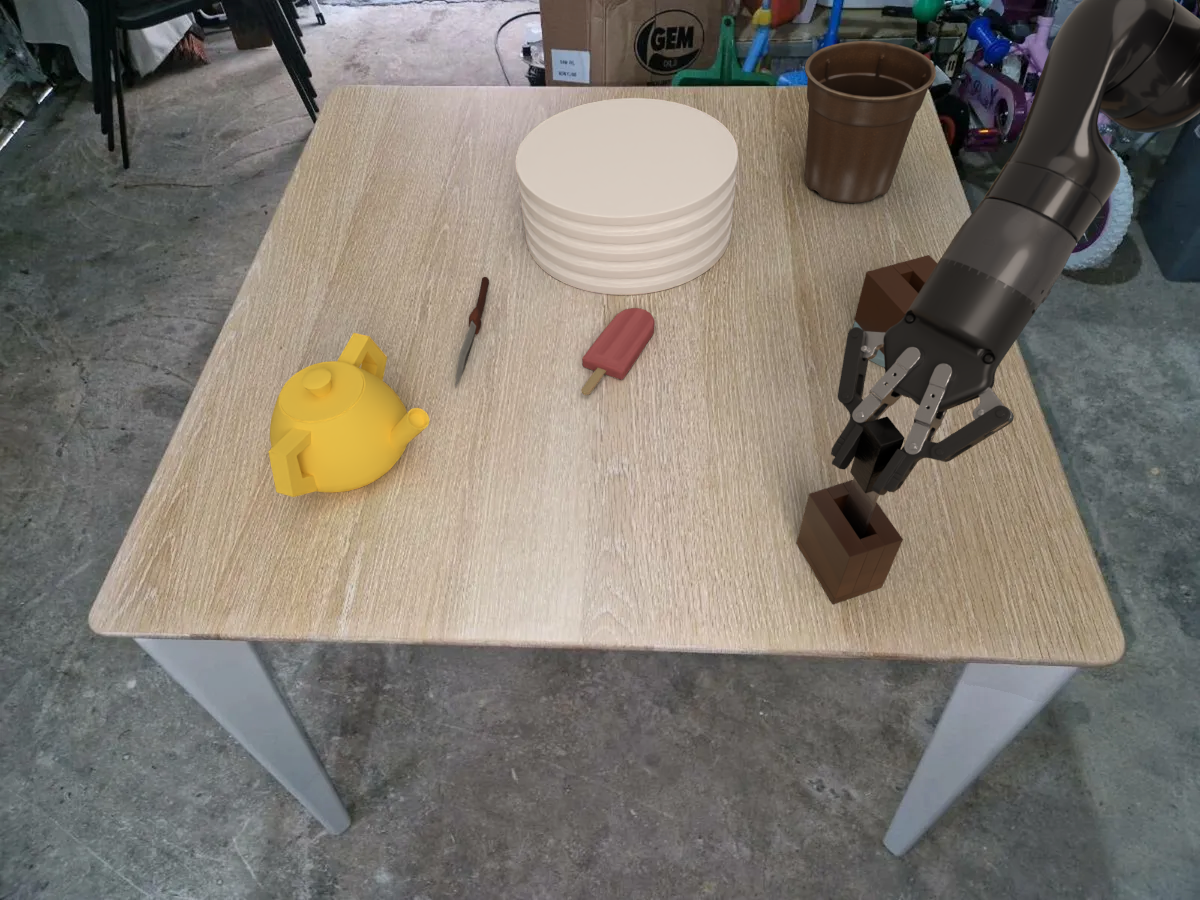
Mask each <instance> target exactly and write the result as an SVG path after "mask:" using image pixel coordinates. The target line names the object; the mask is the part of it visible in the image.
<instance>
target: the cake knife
mask: <svg viewBox="0 0 1200 900" xmlns="http://www.w3.org/2000/svg"><path fill="white" fill-rule="evenodd" d="M904 443H905V437H904V435H903V434H902V433H901V431H900V430H899V429H898V428H897V426H896V425H895V423H893V421H892V420H891V419H890V418H889V417H888V416H884V417H881V418H880V417H879V418H878V419H877V420H874V421H870V422H867V423H865V424H864V427H863V430H862V434H861V437H860V441H859V444H858V447H857V451H856V454H855V457H854V458H853V460H852V463H851V467H850V471H849V472H850V474H851V476H852V477H853V479H852V480H853V482H852V485H851V488H850V491H849V495H848V498H847V501H846V505H845V508H844V511H843V515H844V516H845V518H846V519H847V521H848V522H849V524H850V525H851V527H852V528H853V530H854V531H855V533H856V534H857V536H858V537H859V539H862V538H864V536H865V533H866V530H867V527H868V525H869V522H870V519H871V516H872V513H873V511H874V508H875V505H876V502H877V503H878V499H879V496H880V495H879V494H877V493H875V492H874V491H872V490H871V489H872V486H873V485H874V483H875V482H876V480H877V479H878V477H879V476H880V474H881V473H882V471H883V470H884V468H885V467H886V465H887V464H888V462H889V461H890V459H891V458H892V456H893V455H894V453H895V452H896V450H897V449H902V448H903V444H904Z"/></svg>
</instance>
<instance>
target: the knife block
mask: <svg viewBox="0 0 1200 900" xmlns="http://www.w3.org/2000/svg"><path fill="white" fill-rule="evenodd" d="M852 482H853V479H850V480H847V481H844V482H841V483H837V484H835V485H832V486H828V487H826V488H823V489H819V490H815V491H813V492H809V493H808V496H807V500H806V503H805V507H804V511H803V515H802V520H801V523H800V527H799V531H798V535H797V538H796V542H795V545H796V546H797V547H798V549H799V551H800V552H801V554H802V556H803V557H804V559H805V560H806V562H807V564H808V566H809V567H810V569H811V571H812V572H813V574H814V575H815V577H816V579H817V580H818V582H819V584H820V586H821V587H822V589H823V591H824V592H825V594H826V596H827V597H828V599H829V601H830V602H831V604H832V605H836V604H839V603H841V602H844V601H845V602H846V601H847V600H851V599H853V598H856V597H859V596H861V595H865V594H867V593H871V592H873V591H876V590H879V589H882V588H883V585H884V584H885V581H886V579H887V577H888V574H889V572H890V570H891V568H892V565H893V563H894V562H895V559H896V557H897V555H898V552H899V550H900V548H901V545H902V543H903V540H904V539H903V537H902V535H901V534H900V533H899V531H898V530H897V529H896V527H895V526H894V524H893V523H892V521H891V520H890V519H889V518H888V516H887V514H886V513H885V511H884V510H883V509H882V508H881V505H879V503H878V501H877V502H876V505H875V508H874V511H873V513H872V516H871V519H870V522H869V525H868V527H867V530H866V533H865V536H864V538H862V539H859V537H858V536H857V534H856V533H855V531H854V530H853V528H852V527H851V525H850V524H849V522H848V521H847V519H846V518H845V516H844V515H843V511H844V508H845V505H846V501H847V498H848V495H849V491H850V488H851V485H852Z"/></svg>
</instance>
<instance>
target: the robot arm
mask: <svg viewBox="0 0 1200 900" xmlns="http://www.w3.org/2000/svg"><path fill="white" fill-rule="evenodd" d="M1196 5H1197V10H1198V13H1199V14H1200V0H1196ZM1062 23H1063V24H1062V25H1061V27H1060V29H1059V30H1058V32H1057V33H1056V36H1055V37H1054V39H1053V40H1052V43H1051V47H1050V49H1049V51H1048V53H1047V56H1046V59H1045V62H1044V64H1043V65H1044V66H1043V68H1042V71H1041V73H1040V77H1039V81H1038V84H1037V87H1036V89H1035V93H1034V96H1033V99H1032V103H1031V105H1030V108H1029V111H1028V113H1027V116H1026V119H1025V121H1024V124H1023V126H1022V129H1021V132H1020V135H1019V137H1018V140H1017V143H1016V145H1015V148H1014V150H1013V152H1012V153H1011V155H1010V156H1009V158H1008V160H1007V161H1006V163H1005V164H1004V165H1003V167H1002V168H1001V170H1000V171H999V173H998V175H997V176H996V178H995V179H994V181H993V183H992V184H991V186H990V187H989V189H988V190H987V192H986V194H984V197H983V199H982V200H981V201H980V203H979V204H978V205H977V207H976V208H975V209H974V211H973V212H972V213H971V214H970V215H969V216H968V217H967V219H966V220H965V221H964V223H963V224H962V225H961V227H960V228H959V229H958V231H957V233H956V234H955V235H954V237H953V238H952V240H951V241H950V243H949V244H948V246H947V248H946V249H945V251H944V252H943V254H942V256H941V257H940V259H939V260H938V262H937V263H938V264H937V265H936V267H935V268H934V270H933V271H932V273H931V275H930V276H929V278H928V279H927V281H926V282H925V284H924V286H923V287H922V289H921V290H920V292H919V293H918V295H917V296H916V298H915V300H914V301H913V303H912V304H911V306H910V307H909V309H908V311H907V312H906V314H905V316H904V317H903V318H902V320H901V321H899V322H898V323H897V324H895V325H894V326H892V327H890V328H889V329H888V330H887V332H886V333H884V332H869V331H863V330H862V329H860V328H858V327H854V328H853V327H852V328H850V329H849V330H848V332H847V336H846V342H845V349H844V355H843V361H842V365H841V371H840V378H839V385H838V390H837V400H838V402H840V404H842V405H843V406H844V408H845V409H846V410H847V411H848V414H849V420H848V422H847V424H846V425H845V426H844V429H843V430H842V431H841V433H840V435H839V436H838V437H837V439H836V441H835V443H833V445H832V447H831V451H830V455H831V456H833V457H834V458H833V459H832V462H831V465H832V466H834V467H836V468H837V469H839V470H844V471H845V470H846V469H848V467H849V466H850V464H852V462H853V460H854V457H855V454H856V451H857V447H858V444H859V441H860V437H861V434H862V430H863V427H864V424H865V423H867V422H870V421H874V420H877V419H880V417H881V416H882V415H884V413H885V412H886V411H887V410H888V409H889V408H890V407H892V406H893V405H894V404H896V403H897V401H898V400H899V399H900V398H902V397H905V398H908V399H911V400H912V401H913V402H914V403H915V404H916V405H918V409H917V410H916V413H915V415H914V419H913V424H912V425H911V428H910V431H909V433H908V435H907V437H906V440H905V441H904V443H903V444H904V445H902V447H901V449H897V450H896V452H895V453H894V455H893V456H892V458H891V459H890V461H889V462H888V464H887V465H886V467H885V468H884V470H883V471H882V473H881V474H880V476H879V477H878V479H877V480H876V482H875V483H874V485H873V486H872V489H871V490H872V491H874V492H875V493H877V494H879V496H885V495H886V494H887V493H895V492H897V491H898V490H900V489H901V488H902V486H903V484H904V483H905V481H906V480H907V479H908V477H909V476H910V474H911V473H912V471H913V469H914V468H915V467H916V465H917V464H918V463H919V462H920V461H921V460H923V459H932V460H936V461H939V462H940V461H941V462H944V463H947V462H950V461H953V459H955V458H957V457H959V456H961V454H963V453H965V452H967V451H969V450H970V449H972V448H973V447H975V446H977V445H978V444H980V443H981V442H983V441H984V440H986V439H987V438H989V437H991V436H992V435H994V434H996V433H997V432H999V431H1001V430H1002V429H1004V428H1005V427H1007V426H1008V425H1010V424H1011V423H1012V422H1013V421H1014V418H1015V416H1014V412H1013V411H1012V410H1011V409H1010V408H1009V407H1007V406H1005V404H1004V402H1002V401H1001V399H1000V398H999V397H998V396H997V395H998V394H996V393H995V392H994V389H993V387H994V386H995V379H996V373H997V369H998V368H999V366H1000V364H1001V363H1002V361H1003V360H1004V358H1005V357H1006V355H1007V354H1008V353H1009V351H1010V349H1011V348H1012V347H1013V345H1014V344H1015V342H1016V341H1017V339H1018V338H1019V337H1020V335H1021V333H1022V332H1023V331H1024V329H1025V327H1026V326H1027V325H1028V323H1029V322H1030V320H1031V319H1032V317H1033V316H1034V314H1035V313H1036V311H1037V310H1038V308H1039V307H1040V305H1042V304H1044V303H1045V301H1046V300H1047V298H1048V297H1049V295H1050V294H1051V292H1052V288H1053V287H1054V285H1055V284H1056V282H1057V281H1058V280H1059V278H1060V276H1061V274H1062V273H1063V270H1064V269H1065V267H1066V265H1067V263H1068V261H1069V259H1070V257H1071V255H1072V253H1073V252H1074V250H1075V248H1076V247H1077V245H1078V243H1079V242H1080V240H1081V239H1082V237H1083V236H1084V234H1085V233H1086V232H1087V230H1088V228H1089V227H1090V225H1091V224H1092V222H1094V220H1095V218H1096V216H1097V215H1098V214H1099V213H1100V211H1101V209H1102V208H1103V207H1104V205H1105V204H1106V203H1107V201H1108V200H1109V198H1110V197H1111V195H1112V194H1113V192H1114V191H1115V189H1116V186H1117V185H1118V183H1119V181H1120V178H1121V165H1120V163H1119V160H1118V159H1117V157H1116V156H1115V154H1114V153H1113V151H1112V150H1111V149H1110V147H1109V146H1108V144H1107V143H1106V142H1105V139H1104V138H1103V136H1102V134H1101V132H1100V129H1099V116H1100V113H1101V114H1103V115H1104V116H1105V117H1107V118H1108V119H1110V120H1111V121H1112V122H1114V123H1116V124H1117V125H1119V126H1120V127H1122V128H1123V129H1125V130H1127V131H1130V132H1134V133H1139V134H1149V133H1153V134H1154V133H1158V132H1159V133H1160V132H1164V131H1168V130H1171V129H1175V128H1177V127H1179V126H1181V125H1183V124H1185V123H1187V122H1189V121H1190V120H1191V119H1193V118H1195V117H1196V116H1197V115H1199V114H1200V18H1199V17H1197V15H1195V14H1193V13H1192V12H1191V11H1189V10H1188V9H1187V8H1186V7H1184V6H1183V5H1182V4H1181V3H1179V2H1178V1H1177V0H1082V1H1080V2H1079V3H1078V4H1077V5H1076V6H1075V7H1074V9H1073V10H1072V11H1071V12H1070V14H1069V15H1068V16H1067V17H1066V19H1065V20H1064V22H1062ZM881 347H884V361H885V367H884V374H883V375H882V376H881V377H880V378H879V380H878V381H877V382H876V383H875V384H874V385H873V386H872V387H871V388H870V390H869V392H868V394H867V395H866V396H865V398H863V394H864V389H865V383H866V376H867V369H868V364H869V361H870V359H873V358H874V357H875V356H876V355H877V352H878V350H879V349H880V348H881ZM978 398H979V404H978V405H977V406H976V407H975V408H974V409H973V411H972V417H973V419H974V420H972V421H970V422H969V423H967V424H965V425H964V426H962V427H961V428H959V429H957V430H956V431H954V432H953V433H951V434H949V435H948V436H946V437H945V438H943V439H942V440H940V441H939V442H935V441H933V440H934V438H935V435H936V433H937V431H938V430H939V429H940V427H941V425H942V423H943V421H944V419H945V416H946V414H947V412H948V410H951V409H953V408H956V407H958V406H961V405H963V404H966V403H969V402H971V401H973V400H976V399H978Z"/></svg>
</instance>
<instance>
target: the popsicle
mask: <svg viewBox="0 0 1200 900" xmlns="http://www.w3.org/2000/svg"><path fill="white" fill-rule="evenodd" d="M655 321H656V320H655V318H654V316H653V315H652V313H651V312H649V311H648V310H646V309H644V308H640V307H630V308H625V309H623V310H621V311H620V312H618V313H616V315H615V316H614V317H613V319H612V320H611V321H610V322H609V323H608V325H607V326H606V327H605V328H604V329H603V331H602V332H601V333H600V334H599V335H598V337H597V338H596V339H595V341H594V342H593V343H592V345H591V346H590V347H589V349H588V350H587V351H586V352H585V353H584V355H583V356H582V358H581V363H582V367H583V368H585V369H587V370H591V371H593V373H592V374H591V375H590V377H589V378H588V379H587V381H586V382H585V384H584V385H583V386H582V388H581V389H580V393H581V394H582V395H584V396H589V395H591V394H592V393H593V391H594V390H595V388H596V386H598V384H599V383H600V381H601V380H602V379H603V377H604V376H605V375H606V376H609V377H611V378H615V379H617V380H620V381H623V380H624V379H625V377H626V376H627V375H628V373H629V371H630V370H631V369H632V367H633V366H634V365H635V363H636V362H637V360H638V358H639V357H640V356H641V354H642V353H643V351H644V350H645V348H646V346H647V344H648V343H649V342H650V340H651V338H652V337H653V335H654V334H655V328H656V327H655V325H656V322H655Z"/></svg>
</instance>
